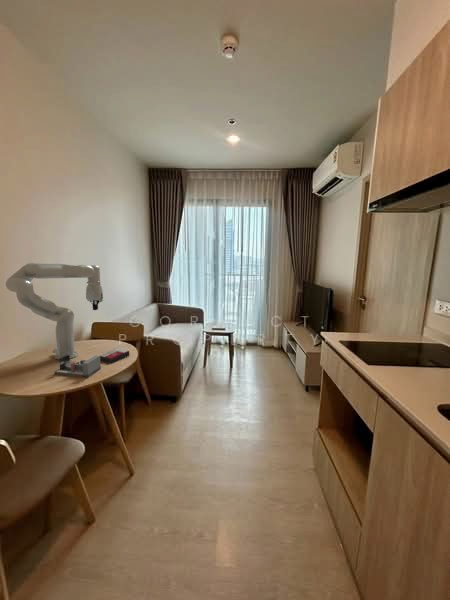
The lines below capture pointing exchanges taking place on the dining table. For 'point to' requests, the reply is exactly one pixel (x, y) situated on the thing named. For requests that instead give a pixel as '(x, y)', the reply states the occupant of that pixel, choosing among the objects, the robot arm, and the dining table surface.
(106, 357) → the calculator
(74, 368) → the drag pointer
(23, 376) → the dining table surface
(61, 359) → the plunger
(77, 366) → the gauge housing
